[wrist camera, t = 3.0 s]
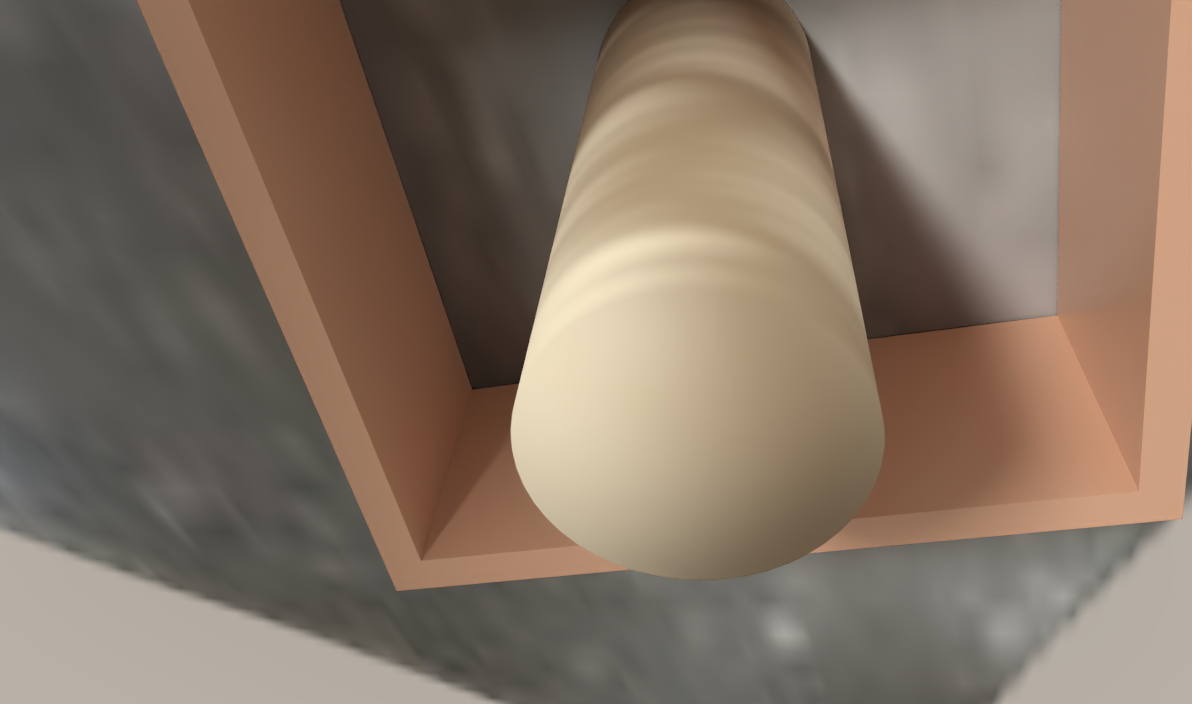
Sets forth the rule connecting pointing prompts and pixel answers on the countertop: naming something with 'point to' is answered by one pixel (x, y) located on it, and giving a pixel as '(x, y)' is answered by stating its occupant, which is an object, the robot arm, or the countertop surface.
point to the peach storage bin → (900, 363)
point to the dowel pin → (700, 308)
